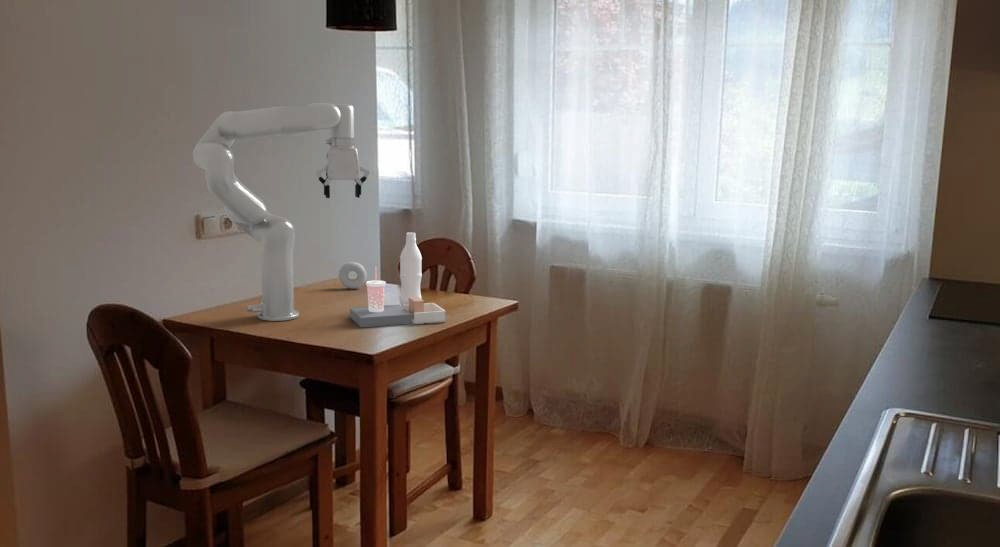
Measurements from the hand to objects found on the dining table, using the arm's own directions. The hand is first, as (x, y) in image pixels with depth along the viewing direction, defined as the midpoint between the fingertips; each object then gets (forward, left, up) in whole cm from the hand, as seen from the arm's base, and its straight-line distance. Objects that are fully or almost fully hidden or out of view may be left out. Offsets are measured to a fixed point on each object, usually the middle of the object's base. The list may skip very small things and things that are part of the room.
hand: (342, 197), depth 286 cm
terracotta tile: (+16, -22, -33) cm, 43 cm away
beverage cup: (+6, -19, -34) cm, 39 cm away
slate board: (+7, -20, -36) cm, 42 cm away
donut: (+10, +29, -36) cm, 48 cm away
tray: (+20, -22, -36) cm, 47 cm away
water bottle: (+21, -6, -36) cm, 43 cm away
